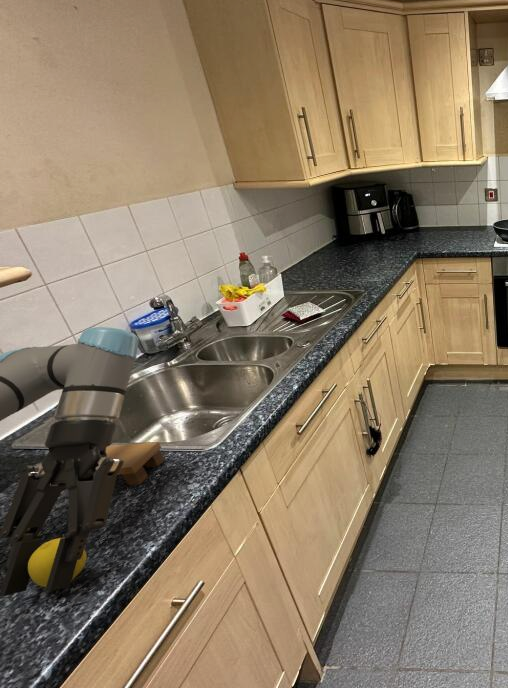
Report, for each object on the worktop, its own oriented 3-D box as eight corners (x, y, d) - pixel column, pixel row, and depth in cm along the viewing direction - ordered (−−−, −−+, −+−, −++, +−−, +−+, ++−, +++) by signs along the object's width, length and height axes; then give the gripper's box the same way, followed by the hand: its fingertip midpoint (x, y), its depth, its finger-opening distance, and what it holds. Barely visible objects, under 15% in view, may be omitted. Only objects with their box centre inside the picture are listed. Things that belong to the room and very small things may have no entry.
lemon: (57, 571, 63) (31, 536, 60) (102, 556, 65) (78, 521, 62) (36, 606, 58) (5, 569, 55) (85, 588, 60) (58, 552, 57)
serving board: (69, 493, 80) (56, 474, 78) (101, 466, 86) (89, 448, 84) (142, 486, 80) (131, 466, 78) (167, 460, 86) (158, 441, 84)
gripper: (162, 419, 70) (125, 578, 61) (52, 428, 69) (-2, 590, 60) (123, 413, 63) (75, 592, 54) (0, 424, 62) (-69, 606, 53)
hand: (35, 590), depth 57 cm, fingers closed on lemon, 5 cm apart
